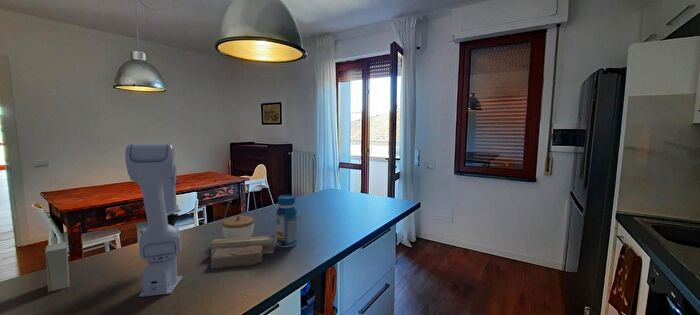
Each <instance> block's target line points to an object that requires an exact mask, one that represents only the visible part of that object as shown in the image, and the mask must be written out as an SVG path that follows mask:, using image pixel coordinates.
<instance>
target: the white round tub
mask: <svg viewBox="0 0 700 315" xmlns="http://www.w3.org/2000/svg"><path fill="white" fill-rule="evenodd" d="M221 226H222V227H221V228H222V234H223V237H224V239H227V238H242V237H252V236H253V234H254V229H255V218H254V217H252V216H248V215H239V214H238V215H236V216H232V217H228V218H226V219H223V220H222V221H221Z"/></svg>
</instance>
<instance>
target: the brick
mask: <svg viewBox="0 0 700 315" xmlns="http://www.w3.org/2000/svg"><path fill="white" fill-rule="evenodd" d="M263 256H264V254H263V245H262V244H254V245H247V246H237V247H224V248H218V249H217V250H216V251H215V253H214V254H213V256H212V258H210V259H211V262H210V263H211V264H210V267H211V269H221V268H229V267H239V266H251V265H257V264H260V263H261V262H262V261H263Z"/></svg>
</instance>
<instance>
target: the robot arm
mask: <svg viewBox="0 0 700 315" xmlns="http://www.w3.org/2000/svg"><path fill="white" fill-rule="evenodd" d="M124 154H125V155H124V156H125V164H126V170H127V175H128V177H129V180H131V181H133V182H134V183H137V184H138V187H139V188H140V191H141V195H142V200H143V204H144V210H145V211H144V212H145V215H146V221H147V226H148V228H146V229H145V230H143V231H142V232H141V234H140V236H139V240H138V245H139V246H138V247H139V248H138V249H139V257H140V258H141V259H143V260H144V261H145V262H146V263H147V264H146V266H145V269H143V272H142V275H141V283H142V284H141V285H142V291H141V293H139V297H142V298H143V297H150V296H159V295H170V294H172V292H173V291H175V288H176V287H177V286H178V284H179V283H180V281H181V280H182V279H183V278H184V277H183V275H178V264H177V262H178V261H177V254H179V253H180V252H182V235H181V232H180V229H179V227H177V226H175V224H176V222H177V220H178V217H179V213H180V212H181V211H182V210H181V209H180V208H179V204H177V189H176V188H177V187H176V184H177V174H178V169H177V164H176V163H175V148H174V145H173V144H172V143H168V144H167V143H164V144H163V143H159V144H158V143H157V144H156V143H155V144H154V143H152V144H151V143H149V144H148V143H147V144H142V143H141V144H139V143H138V144H133V143H128V145H127V146H126V147H125V152H124Z"/></svg>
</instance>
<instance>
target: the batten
mask: <svg viewBox="0 0 700 315" xmlns="http://www.w3.org/2000/svg"><path fill="white" fill-rule="evenodd" d="M254 244H262V245H263V255H267V254H274V252H275V235H261V236H258V235H257V236H251V237H242V238H227V239H226V238H215V239H213V240H212V241H211V243H210V251H211V252H210V255H211V258H212V256H213V254H214V253H215V251H216V250H217V249H218V248H224V247H237V246H247V245H254ZM211 258H210V259H211Z"/></svg>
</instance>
